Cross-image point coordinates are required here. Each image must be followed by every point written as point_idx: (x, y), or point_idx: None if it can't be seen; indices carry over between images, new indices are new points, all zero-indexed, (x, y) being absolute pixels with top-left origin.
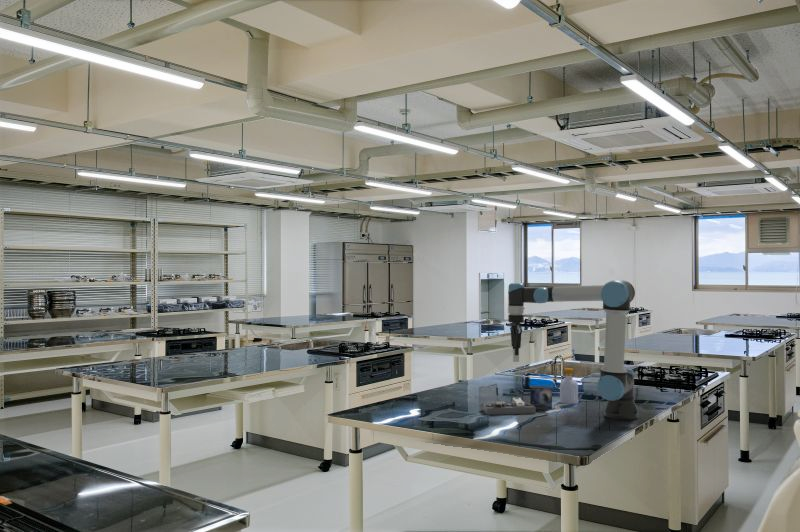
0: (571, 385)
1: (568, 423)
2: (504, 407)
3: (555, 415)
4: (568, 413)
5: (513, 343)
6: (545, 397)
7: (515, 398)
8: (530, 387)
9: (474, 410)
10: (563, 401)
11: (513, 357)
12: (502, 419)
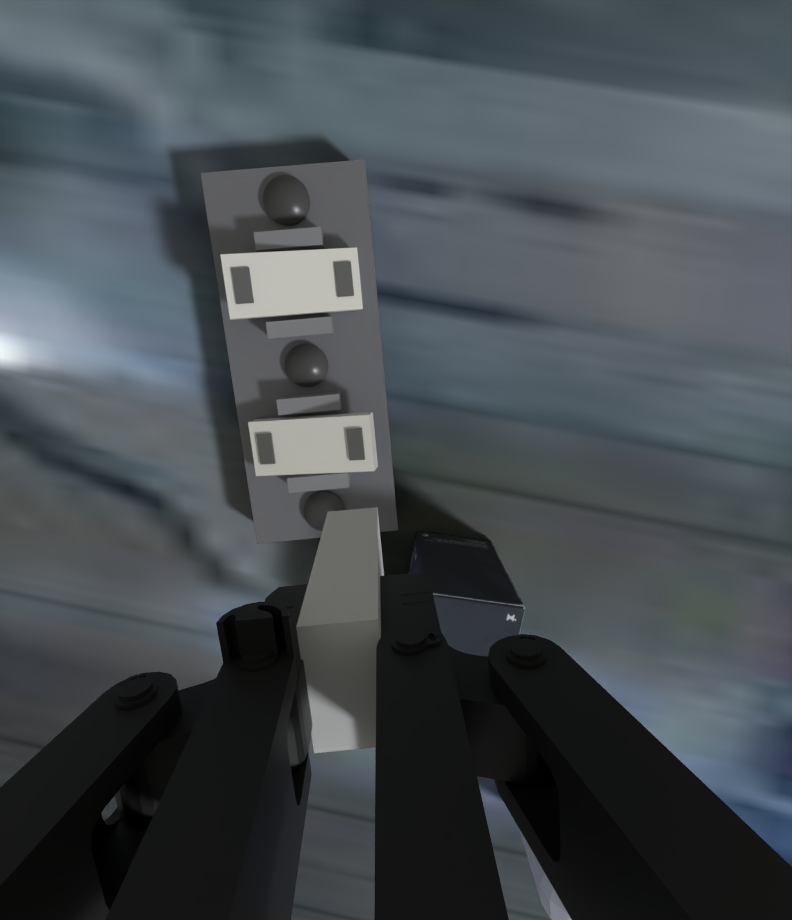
0: (541, 891)
1: (8, 655)
2: (239, 321)
3: (212, 630)
4: None
5: (379, 729)
6: None
7: (348, 431)
8: (502, 596)
9: (356, 106)
10: None
11: (337, 536)
12: (72, 275)
